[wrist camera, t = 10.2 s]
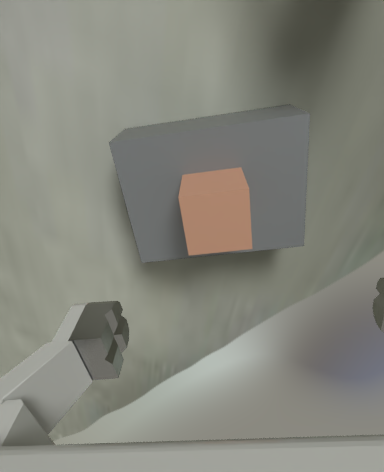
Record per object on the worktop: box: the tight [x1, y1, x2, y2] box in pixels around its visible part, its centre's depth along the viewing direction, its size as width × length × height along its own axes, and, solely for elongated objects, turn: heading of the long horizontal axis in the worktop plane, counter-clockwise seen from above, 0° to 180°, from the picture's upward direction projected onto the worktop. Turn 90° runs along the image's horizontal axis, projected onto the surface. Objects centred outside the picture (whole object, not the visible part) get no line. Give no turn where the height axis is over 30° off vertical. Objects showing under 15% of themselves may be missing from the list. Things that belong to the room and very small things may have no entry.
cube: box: [178, 167, 252, 256], centre depth 25 cm, size 5×5×5 cm
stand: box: [109, 104, 310, 263], centre depth 29 cm, size 16×12×6 cm
